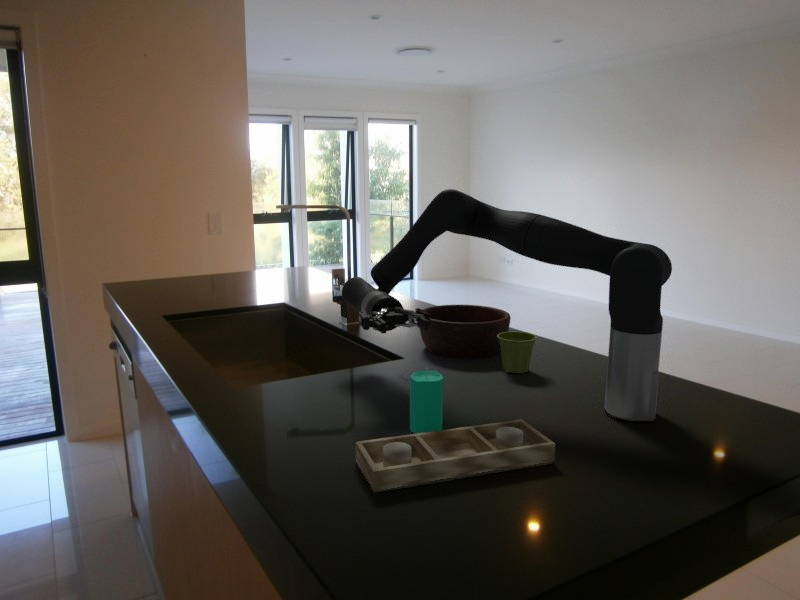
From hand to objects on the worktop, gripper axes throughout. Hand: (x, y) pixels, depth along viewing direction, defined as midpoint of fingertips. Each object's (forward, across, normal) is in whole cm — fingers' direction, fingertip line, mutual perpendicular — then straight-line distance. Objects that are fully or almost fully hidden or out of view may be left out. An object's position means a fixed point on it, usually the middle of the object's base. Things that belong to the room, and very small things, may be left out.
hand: (405, 327), depth 115 cm
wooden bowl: (-37, +30, +17) cm, 51 cm away
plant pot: (-16, +34, +17) cm, 41 cm away
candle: (+12, 0, +17) cm, 21 cm away
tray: (+25, 0, +17) cm, 30 cm away
